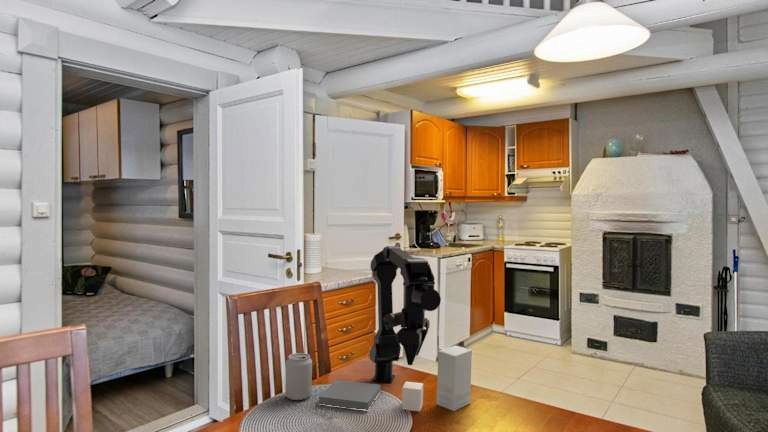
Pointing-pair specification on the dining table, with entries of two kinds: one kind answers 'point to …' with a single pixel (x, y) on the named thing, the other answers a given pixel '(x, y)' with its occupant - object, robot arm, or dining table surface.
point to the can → (298, 376)
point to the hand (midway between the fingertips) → (413, 360)
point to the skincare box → (454, 377)
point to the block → (412, 396)
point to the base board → (350, 394)
